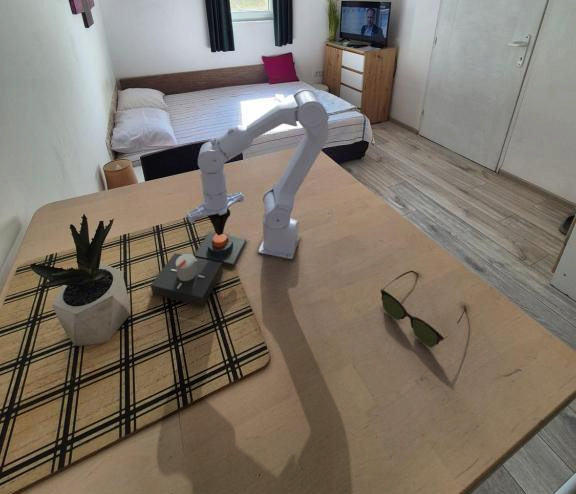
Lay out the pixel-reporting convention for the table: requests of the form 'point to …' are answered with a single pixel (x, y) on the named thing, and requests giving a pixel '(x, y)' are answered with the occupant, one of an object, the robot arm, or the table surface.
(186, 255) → the timer dial
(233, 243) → the button block
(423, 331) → the sunglasses
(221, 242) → the button
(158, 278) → the dial panel
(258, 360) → the table surface
